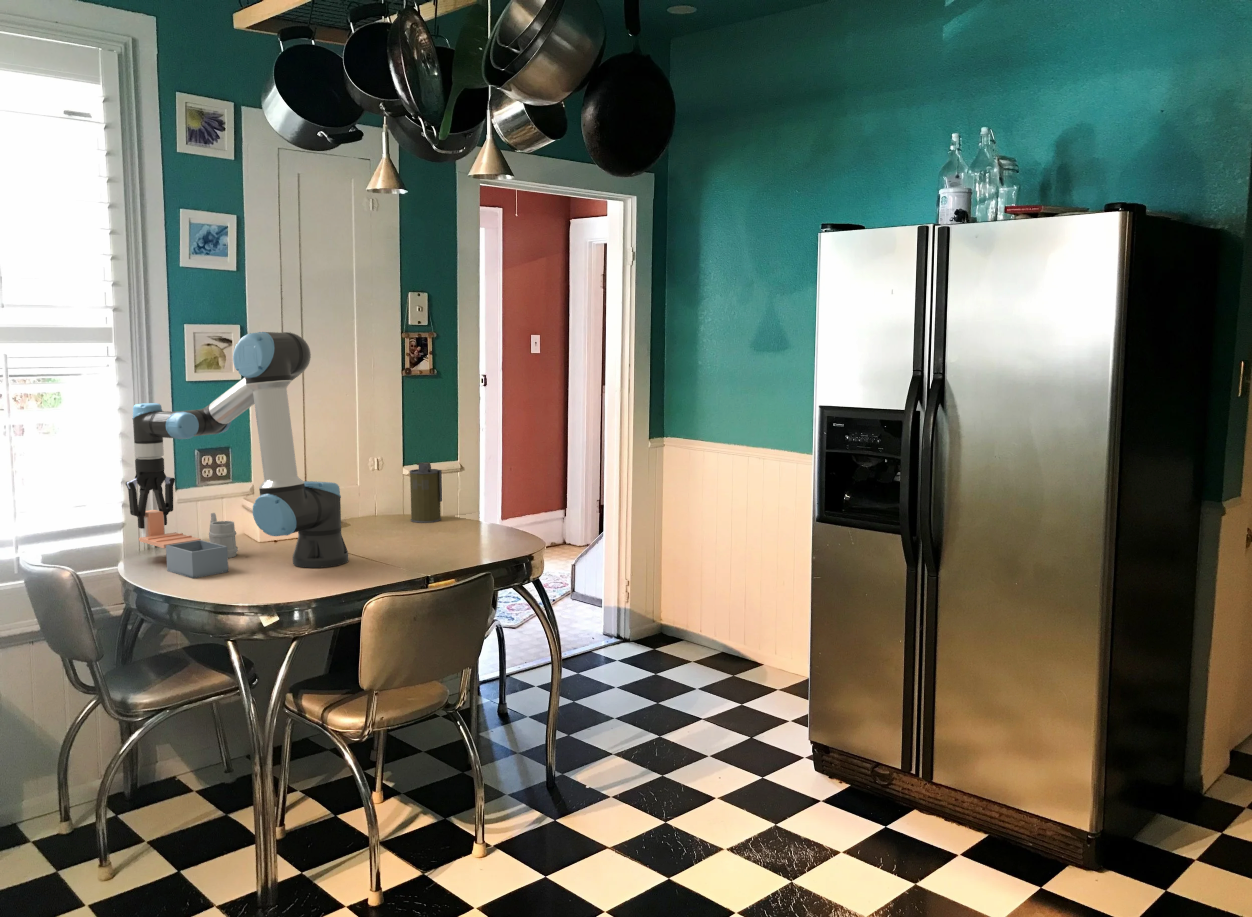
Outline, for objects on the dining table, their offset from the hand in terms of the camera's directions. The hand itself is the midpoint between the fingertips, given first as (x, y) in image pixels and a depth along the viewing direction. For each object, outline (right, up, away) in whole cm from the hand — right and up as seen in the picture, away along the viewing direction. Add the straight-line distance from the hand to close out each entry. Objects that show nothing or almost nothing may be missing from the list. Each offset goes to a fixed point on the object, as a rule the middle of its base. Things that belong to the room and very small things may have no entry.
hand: (153, 537), depth 299 cm
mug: (+18, -6, +4) cm, 19 cm away
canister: (+67, +1, +61) cm, 91 cm away
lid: (+6, -1, -5) cm, 7 cm away
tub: (+20, -8, -17) cm, 27 cm away
